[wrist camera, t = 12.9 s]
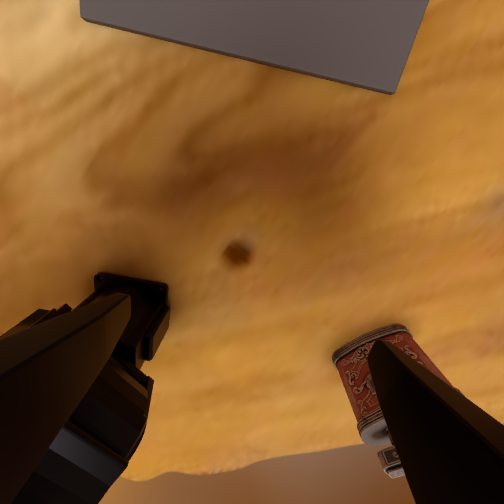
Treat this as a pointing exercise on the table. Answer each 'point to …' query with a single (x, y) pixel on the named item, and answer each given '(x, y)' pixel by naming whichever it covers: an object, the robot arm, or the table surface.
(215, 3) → the rubber mat
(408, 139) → the table surface
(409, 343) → the lighter
